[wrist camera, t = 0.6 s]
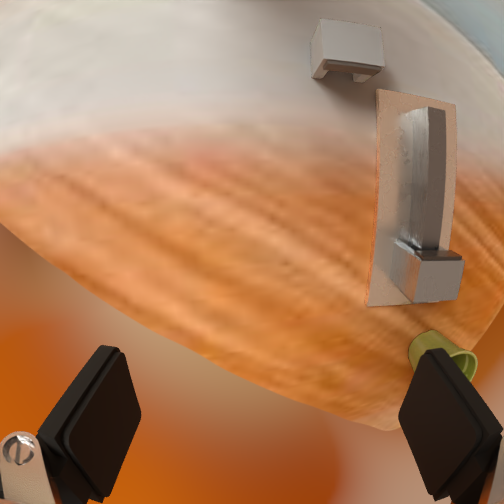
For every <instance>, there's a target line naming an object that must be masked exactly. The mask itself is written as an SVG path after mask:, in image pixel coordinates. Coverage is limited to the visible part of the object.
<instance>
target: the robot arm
mask: <svg viewBox="0 0 504 504" xmlns="http://www.w3.org/2000/svg"><path fill="white" fill-rule="evenodd" d="M398 418H399V422H400V425H401V427H402V429H403V432H404V434H405V436H406V439H407V441H408V444H409V446H410V448H411V450H412V453H413V456H414V458H415V461H416V463H417V466H418V468H419V471H420V474H421V476H422V479H423V481H424V484H425V487H426V489H427V492H428V493H429V494H430V495H433V498H434V500H435V501H437V500H440V499H443V498H445V497H448V496H449V495H450V498H451V500H452V501H451V504H504V436H503V437H502V435H501V434H500V433H501V432H502V430H503V428H502V426H501V425H500V423H499V422H498V420H497V419H496V417H495V416H494V414H493V413H492V411H491V410H490V409H489V407H488V406H487V404H486V403H485V402H484V400H483V399H482V397H481V396H480V395H479V394H478V392H477V391H476V389H475V388H474V387H473V385H472V384H471V383H470V381H469V380H468V379H467V377H466V376H465V375H464V373H463V372H462V371H461V369H460V368H459V367H458V366H457V364H456V363H455V362H454V361H453V359H452V358H451V357H450V355H449V354H448V353H447V352H446V350H445V349H443V348H435V349H428V350H426V351H425V353H424V354H423V355H421V356H420V359H419V362H418V364H417V367H416V370H415V373H414V376H413V378H412V381H411V384H410V386H409V389H408V391H407V394H406V396H405V399H404V401H403V404H402V406H401V408H400V411H399V415H398ZM140 420H141V410H140V406H139V403H138V400H137V397H136V393H135V390H134V387H133V383H132V380H131V376H130V373H129V369H128V365H127V361H126V357H125V355H124V353H122V352H120V350H119V348H117V347H112V346H104V345H101V346H100V347H99V348H98V349H97V350H96V352H95V353H94V354H93V355H92V357H91V358H90V359H89V361H88V362H87V363H86V364H85V366H84V367H83V368H82V370H81V371H80V372H79V374H78V375H77V377H76V378H75V379H74V380H73V382H72V383H71V385H70V386H69V387H68V389H67V390H66V391H65V393H64V394H63V396H62V397H61V398H60V400H59V401H58V403H57V404H56V405H55V407H54V408H53V410H52V411H51V412H50V414H49V415H48V417H47V418H46V420H45V421H44V423H43V424H42V425H41V427H40V429H39V430H38V434H37V435H36V437H34V436H33V435H32V434H30V433H28V432H23V431H21V432H14V433H11V434H10V435H8V436H7V437H5V438H4V439H3V440H2V442H1V444H0V504H87V502H88V499H91V500H94V501H97V502H100V503H103V500H104V497H109V496H110V494H111V492H112V489H113V487H114V484H115V482H116V479H117V476H118V474H119V471H120V469H121V466H122V463H123V461H124V459H125V456H126V454H127V451H128V449H129V446H130V444H131V442H132V439H133V437H134V434H135V432H136V430H137V427H138V425H139V422H140Z"/></svg>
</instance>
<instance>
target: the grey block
mask: <svg viewBox="0 0 504 504" xmlns="http://www.w3.org/2000/svg"><path fill="white" fill-rule="evenodd" d="M310 51H311V72H312V78H321V79H322V78H323V77H324V76H325V74H326V73H327V72H328V70H329V71H339V72H348V73H353V82H360V83H364V82H365V81H366V80H368V79H369V78H370V77H372V76H374V75H375V74H377V73H378V72H380V71H381V70H382V69H383V68H384V67H385V58H384V49H383V40H382V32H381V27H376V26H371V25H365V24H359V23H353V22H346V21H339V20H331V19H322V18H321V19H320V21H319V23H318V26H317V28H316V30H315V33H314V35H313V38H312V40H311V42H310Z"/></svg>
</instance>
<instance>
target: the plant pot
mask: <svg viewBox="0 0 504 504" xmlns="http://www.w3.org/2000/svg"><path fill="white" fill-rule="evenodd" d="M435 348H443V349H445V350H446V352H447V353H448V354H449V355H450V357H451V358H452V359H453V361H454V362H455V363H456V364H457V366H458V367H459V368H460V369H461V371H462V372H463V373H464V375H465V376H466V377H467V379H468V380H469V381H470V382H471V381H472V379H473V377H474V375H475V373H476V369H477V364H478V361H477V357H476V355H475V354H474V353H472V352H471V351H468V350H464V349H462V348H459V347H458V346H457V345H455V344H454V343H452V342H451V341H450V340H448V339H447V338H446V337H445V336H443V335H442V334H441V333H439V332H438V331H436V330H429V331H428V332H425V333H421V334H420V335H418V336H417V337H416V338H415V339H414V340H413V342H412V343H411V345H410V347H409V350H408V358H409V361H410V363H411V365H412V368H413V371H414V373H415V370H416V367H417V364H418V362H419V359H420V356H421V355H423V354H424V353H425V351H426V350H428V349H435Z"/></svg>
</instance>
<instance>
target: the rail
mask: <svg viewBox="0 0 504 504" xmlns="http://www.w3.org/2000/svg"><path fill="white" fill-rule="evenodd" d="M375 92H376V117H377V170H376V196H375V213H374V226H373V238H372V249H371V258H370V267H369V275H368V283H367V290H366V297H365V304H366V306H387V305H404V304H419V303H432V302H438V301H445V300H457V296H458V292H459V288H460V283H461V278H462V274H463V269H464V263H465V260H463V259H462V256H460V255H459V254H457V253H455V252H453V251H452V250H449V243H450V236H451V228H452V220H453V210H454V199H455V185H456V159H457V134H456V109H455V105H453V104H450V103H446V102H442V101H438V100H434V99H430V98H425V97H421V96H416V95H411V94H406V93H401V92H395V91H390V90H383V89H377V90H375Z"/></svg>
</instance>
